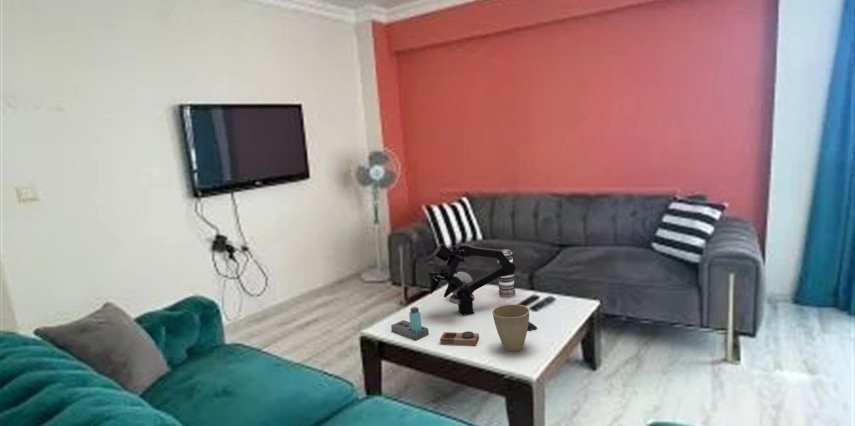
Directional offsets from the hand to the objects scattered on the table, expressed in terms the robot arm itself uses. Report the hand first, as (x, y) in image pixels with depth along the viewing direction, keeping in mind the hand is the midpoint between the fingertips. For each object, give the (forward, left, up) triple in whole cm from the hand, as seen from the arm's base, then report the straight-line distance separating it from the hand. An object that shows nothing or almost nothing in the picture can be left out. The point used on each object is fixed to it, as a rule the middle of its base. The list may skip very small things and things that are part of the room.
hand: (437, 295), depth 238 cm
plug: (+13, +11, -14) cm, 21 cm away
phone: (-34, +18, -14) cm, 41 cm away
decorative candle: (-41, -20, -14) cm, 48 cm away
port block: (+15, +7, -14) cm, 22 cm away
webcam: (-18, -26, -14) cm, 35 cm away
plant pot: (-22, +38, -14) cm, 46 cm away
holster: (-3, +24, -14) cm, 28 cm away
